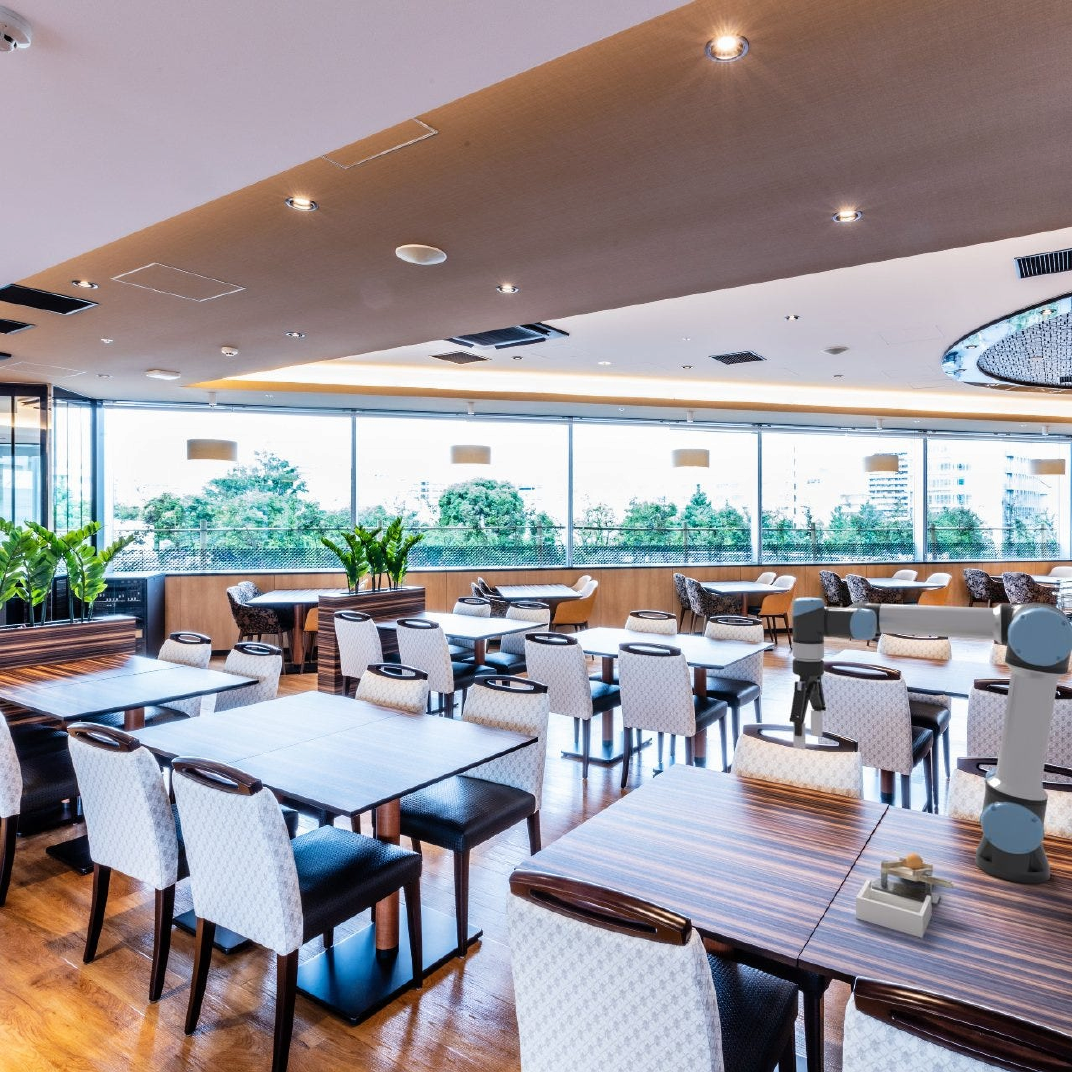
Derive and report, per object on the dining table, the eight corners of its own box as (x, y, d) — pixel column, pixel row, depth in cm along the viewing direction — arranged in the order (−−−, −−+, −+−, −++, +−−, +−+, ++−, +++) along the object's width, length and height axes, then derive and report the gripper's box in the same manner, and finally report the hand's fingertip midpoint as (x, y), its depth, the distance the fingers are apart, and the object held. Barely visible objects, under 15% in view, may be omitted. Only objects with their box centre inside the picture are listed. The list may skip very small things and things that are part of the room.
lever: (961, 885, 174) (962, 872, 175) (948, 889, 158) (949, 875, 159) (898, 869, 182) (899, 856, 183) (879, 871, 166) (880, 858, 166)
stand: (940, 897, 169) (940, 871, 169) (936, 906, 165) (936, 879, 165) (877, 880, 177) (877, 855, 177) (872, 888, 173) (872, 863, 172)
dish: (931, 915, 161) (932, 894, 161) (922, 937, 153) (922, 916, 153) (868, 897, 169) (868, 877, 169) (855, 918, 160) (856, 897, 160)
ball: (923, 869, 179) (924, 854, 179) (921, 873, 176) (921, 857, 176) (907, 865, 181) (908, 850, 181) (904, 868, 178) (905, 853, 178)
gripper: (808, 650, 207) (808, 728, 207) (776, 664, 187) (776, 751, 187) (837, 653, 202) (837, 733, 203) (807, 668, 182) (807, 757, 183)
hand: (808, 742), depth 195 cm, fingers open, 13 cm apart
